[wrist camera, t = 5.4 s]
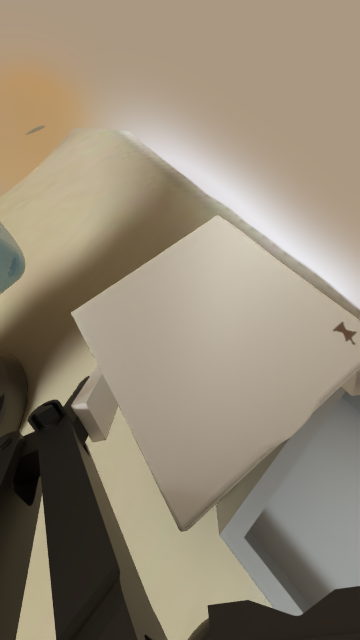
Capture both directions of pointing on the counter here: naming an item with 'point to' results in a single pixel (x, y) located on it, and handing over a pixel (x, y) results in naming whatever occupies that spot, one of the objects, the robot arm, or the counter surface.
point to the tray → (301, 511)
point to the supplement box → (216, 359)
